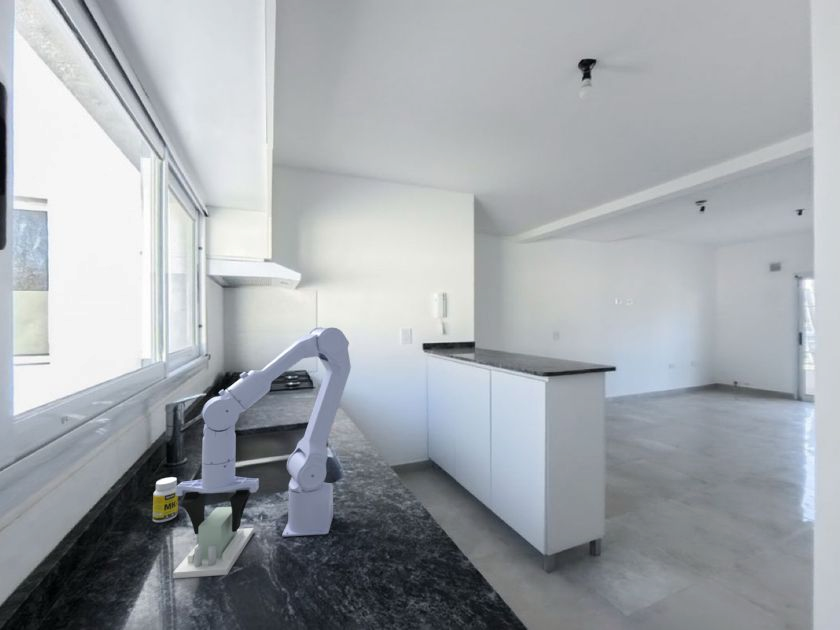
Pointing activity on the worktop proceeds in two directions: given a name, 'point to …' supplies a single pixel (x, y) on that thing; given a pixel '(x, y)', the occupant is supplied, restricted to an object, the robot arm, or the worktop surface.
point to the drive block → (216, 531)
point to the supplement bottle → (165, 500)
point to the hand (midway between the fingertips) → (217, 530)
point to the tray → (213, 558)
